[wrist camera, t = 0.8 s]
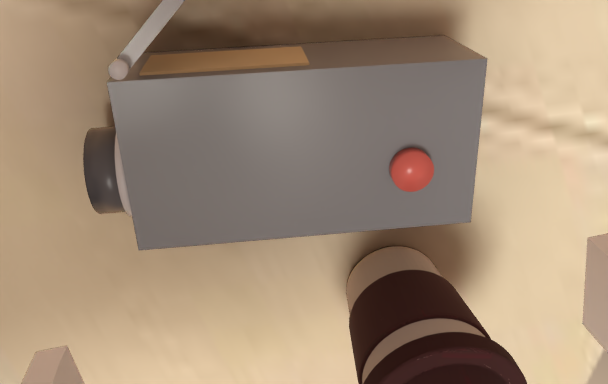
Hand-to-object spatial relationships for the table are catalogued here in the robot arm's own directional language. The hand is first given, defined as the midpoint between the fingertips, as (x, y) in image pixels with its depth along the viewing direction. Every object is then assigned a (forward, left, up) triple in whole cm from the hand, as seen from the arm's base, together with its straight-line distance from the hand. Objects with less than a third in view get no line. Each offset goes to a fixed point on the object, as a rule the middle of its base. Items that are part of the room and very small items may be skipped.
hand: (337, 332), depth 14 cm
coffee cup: (+8, -17, -25) cm, 31 cm away
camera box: (0, -2, -25) cm, 25 cm away
